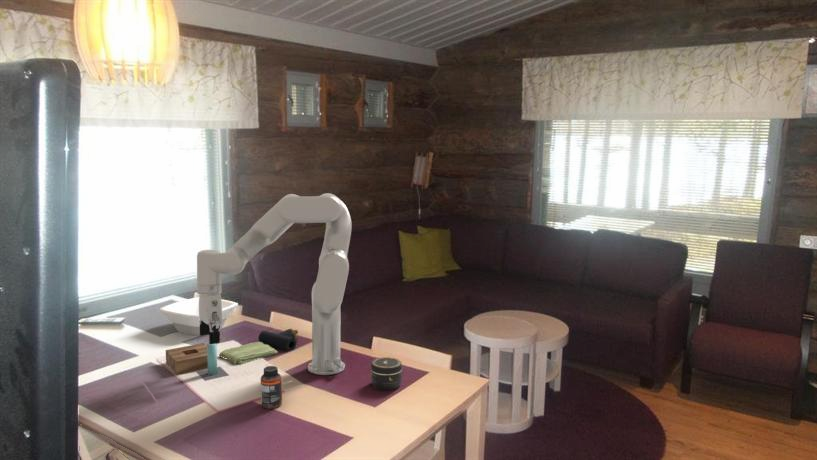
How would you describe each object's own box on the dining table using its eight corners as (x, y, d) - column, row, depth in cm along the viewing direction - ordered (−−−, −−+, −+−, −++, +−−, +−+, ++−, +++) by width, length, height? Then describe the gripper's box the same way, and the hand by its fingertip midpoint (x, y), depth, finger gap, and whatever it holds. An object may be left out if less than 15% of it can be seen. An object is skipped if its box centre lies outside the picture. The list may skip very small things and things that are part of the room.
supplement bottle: (273, 399, 173) (272, 362, 172) (286, 404, 170) (285, 367, 168) (256, 405, 169) (256, 368, 167) (269, 411, 165) (268, 373, 163)
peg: (218, 373, 191) (217, 344, 189) (209, 375, 189) (208, 346, 188) (215, 371, 193) (214, 342, 192) (206, 373, 191) (205, 344, 190)
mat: (229, 376, 190) (229, 375, 190) (204, 381, 185) (204, 380, 185) (220, 367, 197) (220, 366, 197) (196, 372, 192) (196, 371, 192)
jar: (376, 393, 179) (376, 369, 178) (366, 381, 188) (366, 358, 187) (406, 388, 182) (406, 365, 181) (395, 377, 192) (395, 355, 190)
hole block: (216, 367, 197) (215, 353, 196) (176, 375, 189) (176, 361, 189) (204, 356, 207) (203, 343, 207) (166, 363, 200) (165, 350, 199)
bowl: (199, 318, 254) (199, 295, 253) (244, 326, 243) (243, 302, 242) (154, 333, 233) (153, 308, 231) (200, 343, 222) (199, 317, 220)
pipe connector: (280, 324, 230) (308, 331, 222) (280, 337, 231) (308, 344, 223) (258, 332, 220) (286, 339, 212) (258, 345, 221) (287, 353, 213)
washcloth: (279, 355, 211) (279, 346, 211) (236, 368, 198) (236, 359, 198) (259, 346, 220) (259, 338, 219) (216, 358, 207) (216, 350, 206)
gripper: (230, 292, 182) (230, 344, 185) (212, 281, 196) (212, 330, 198) (206, 295, 178) (206, 348, 180) (189, 283, 192) (189, 333, 194)
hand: (209, 339), depth 189 cm, fingers open, 9 cm apart
